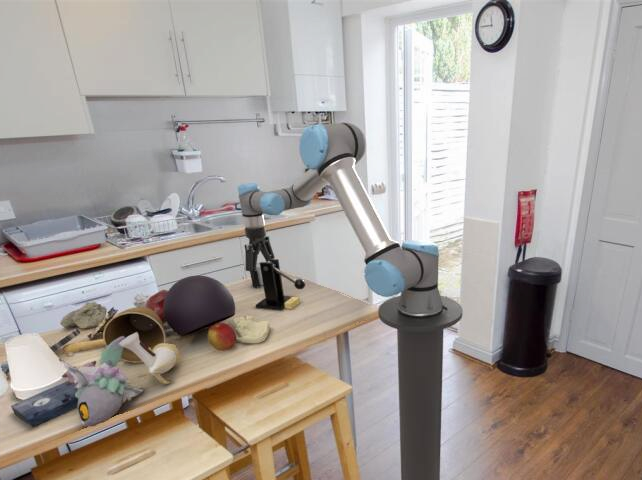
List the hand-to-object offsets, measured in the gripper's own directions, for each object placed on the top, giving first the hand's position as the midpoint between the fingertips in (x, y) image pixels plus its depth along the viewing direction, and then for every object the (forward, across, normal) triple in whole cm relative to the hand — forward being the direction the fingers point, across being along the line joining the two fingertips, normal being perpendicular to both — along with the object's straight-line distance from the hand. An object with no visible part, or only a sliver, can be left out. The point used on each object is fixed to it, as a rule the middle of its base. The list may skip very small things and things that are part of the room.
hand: (263, 281), depth 183 cm
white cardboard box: (0, 0, 0) cm, 1 cm away
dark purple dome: (-4, +48, +10) cm, 49 cm away
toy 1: (-1, +68, -30) cm, 74 cm away
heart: (-2, +40, -18) cm, 44 cm away
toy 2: (-6, +82, +3) cm, 82 cm away
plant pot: (-6, +52, -9) cm, 53 cm away
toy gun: (-13, +70, +8) cm, 71 cm away
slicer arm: (-9, +19, +21) cm, 30 cm away
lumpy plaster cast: (+1, +44, +22) cm, 49 cm away
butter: (0, +19, +23) cm, 30 cm away
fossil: (-5, +45, -35) cm, 57 cm away
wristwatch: (-1, +83, -30) cm, 88 cm away
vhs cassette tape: (-1, +84, -8) cm, 85 cm away
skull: (-5, +34, -20) cm, 40 cm away
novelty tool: (0, +45, -4) cm, 45 cm away
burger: (-5, +55, -23) cm, 60 cm away
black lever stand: (0, +19, +16) cm, 25 cm away
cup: (-14, +83, -14) cm, 85 cm away
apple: (0, +50, +17) cm, 53 cm away
